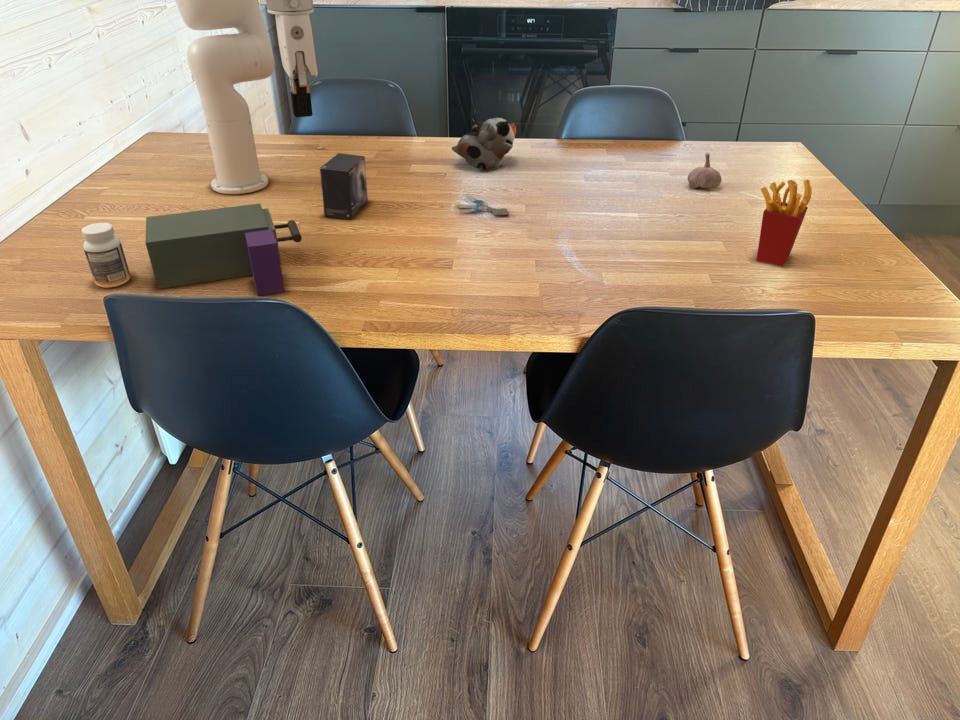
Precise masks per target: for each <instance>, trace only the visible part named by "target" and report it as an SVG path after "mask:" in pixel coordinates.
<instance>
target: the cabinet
mask: <svg viewBox="0 0 960 720" xmlns="http://www.w3.org/2000/svg"><path fill="white" fill-rule="evenodd" d="M262 209H263V206H262V204H261V203H250V204H244V205H243V204H242V205H235V206H227V207H217V208H211V209H202V210H201V209H200V210H194V211H185V212H178V213H169V214H160V215H152V216H146V217H145V239H144V240H145V247H146V250H147V253H148V257H149V261H150V265H151V268H152V272H153V276H154V278H155V282H156V286H157V289H158V290H162V289H168V288H176V287H182V286H183V287H184V286H189V285H194V284H202V283H208V282H214V281H215V282H216V281H223V280H227V279H228V280H229V279H235V278H243V277H249V276H253V273H252V268H251V263H250V258H249V252H248V247H247V242H246V237H245V233H248V232H255V231H263V230H269V229H268V225H267V222H266V219H265V216H264V213H263V210H262Z"/></svg>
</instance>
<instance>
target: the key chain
mask: <svg viewBox="0 0 960 720" xmlns="http://www.w3.org/2000/svg"><path fill="white" fill-rule="evenodd" d="M465 196H466V197H468V198H470V199H471V200H473V203H474V204H460V205H458V208H459V212H480V211H489V212H492V214H493V216H506V215H509V214H510V211H508V209H507V208H505V207H503V208H502V207H501V208H495V207H491V206H489V203H488V202H487V201H484V200H482V199H477V198H474V197H472V196H471V195H469V194H465ZM485 203H486V205H480V206H479V207H478V205H479V204H485Z"/></svg>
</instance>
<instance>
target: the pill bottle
mask: <svg viewBox="0 0 960 720" xmlns="http://www.w3.org/2000/svg"><path fill="white" fill-rule="evenodd" d="M81 234H82V237H83V239H84V242H83V244H82V248H83V251H84V255H85V259H86V261H87V264H88V266H89V269H90V272H91V276H92V278H93V281H94V283H95V285H97V286H98V287H101V288H117V287H119V286H122V285H124V284H126V283H128V282H129V281H130V279H131V272H130V269H129V265H128V262H127V258H126V256H125V255H126V254H125V252H124V248H123V245H122V241H121V240H120V238H119V237H118V236H116V235H115V229H114V226H113V224H111V223H109V222H95V223H91V224H88V225H86V226H84V227H82V228H81Z"/></svg>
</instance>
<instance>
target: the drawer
mask: <svg viewBox="0 0 960 720" xmlns="http://www.w3.org/2000/svg"><path fill="white" fill-rule="evenodd" d="M262 210H263V213H264V216H265V219H266V222H267V225H268V229H269V230H270V229H272V230H273V233H274V236H275V239H276V242H277V246H278V252H279V258H280V264H281V265H282V260H281V253H280V248H279V247H280V246H279V243H281V242H289V241H293V242H294V243H300V242H301V241H302V240H303V237H302V234H301V231H300V229H299V227H298V225H297V222H296V221H295V220H293V219H290V220H288V221H287V223H280V224H275V223H274V221H273V218H272V215H271V212H270V210H269V208H268V207H267V208H262ZM287 228H288V231H289V233H290V235H288V236H281V237H278V235H277V230H279V229H287Z"/></svg>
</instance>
